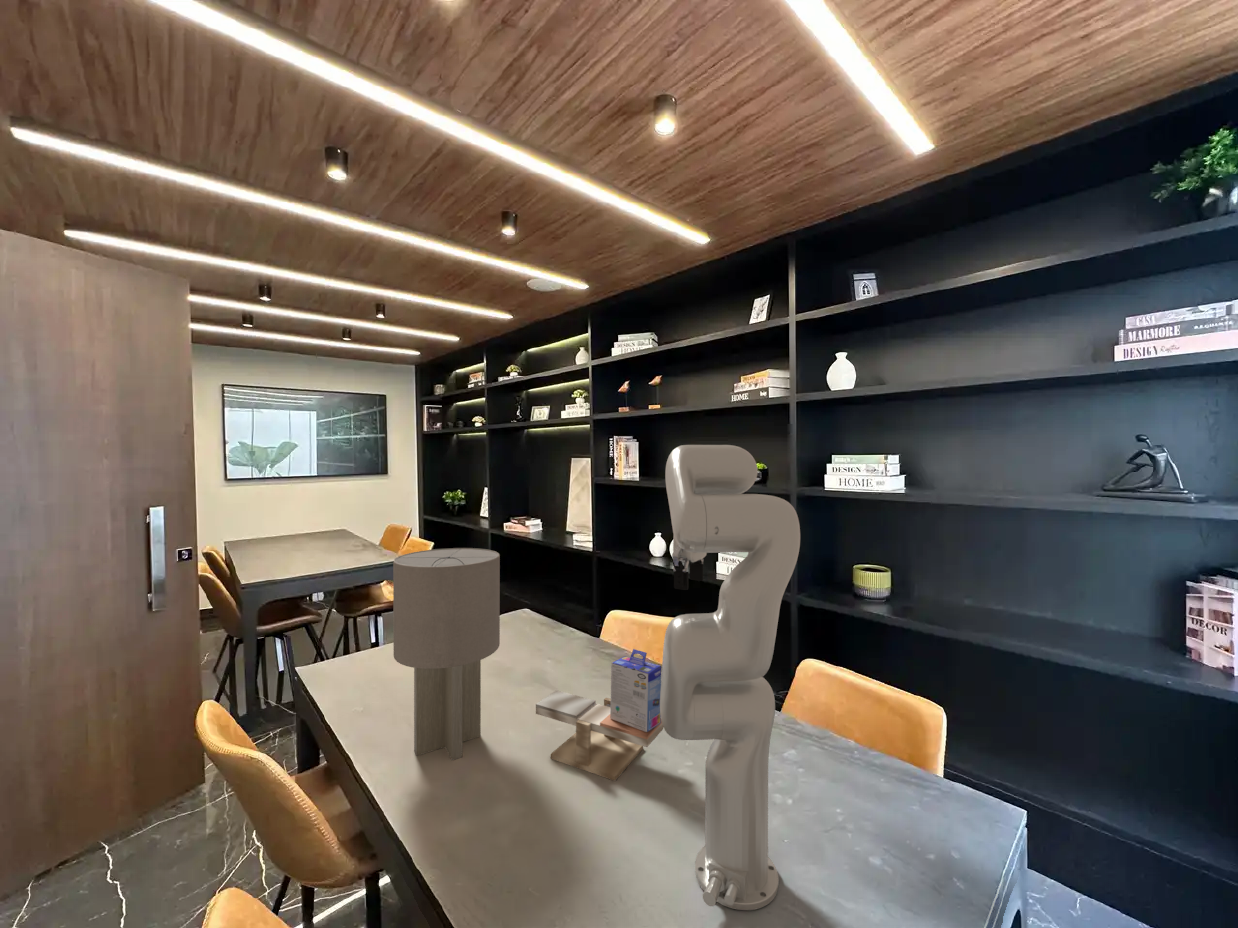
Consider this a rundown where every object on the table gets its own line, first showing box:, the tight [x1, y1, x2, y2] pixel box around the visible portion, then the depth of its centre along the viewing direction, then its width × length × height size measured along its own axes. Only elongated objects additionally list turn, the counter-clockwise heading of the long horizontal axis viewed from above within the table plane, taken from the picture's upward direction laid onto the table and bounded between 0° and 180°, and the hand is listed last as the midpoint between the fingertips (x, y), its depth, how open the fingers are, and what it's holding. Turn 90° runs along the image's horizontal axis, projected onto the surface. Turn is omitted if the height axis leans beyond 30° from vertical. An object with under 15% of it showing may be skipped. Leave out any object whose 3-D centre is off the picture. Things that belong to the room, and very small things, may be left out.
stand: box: [550, 697, 644, 781], centre depth 112 cm, size 16×13×10 cm
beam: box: [535, 689, 664, 748], centre depth 112 cm, size 28×10×2 cm, turn 61°
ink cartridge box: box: [610, 648, 662, 732], centre depth 108 cm, size 10×6×14 cm, turn 54°
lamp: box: [392, 547, 501, 761], centre depth 116 cm, size 23×23×43 cm
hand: (689, 584), depth 116 cm, fingers open, 9 cm apart
